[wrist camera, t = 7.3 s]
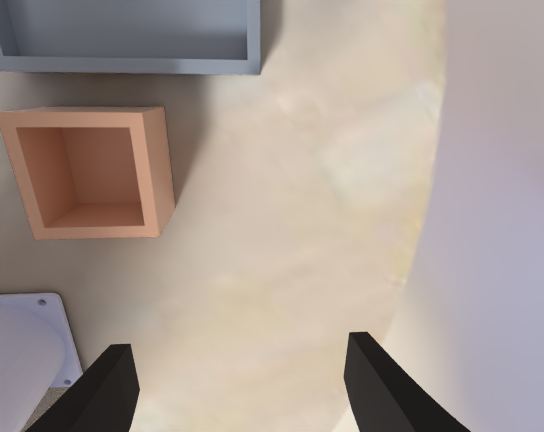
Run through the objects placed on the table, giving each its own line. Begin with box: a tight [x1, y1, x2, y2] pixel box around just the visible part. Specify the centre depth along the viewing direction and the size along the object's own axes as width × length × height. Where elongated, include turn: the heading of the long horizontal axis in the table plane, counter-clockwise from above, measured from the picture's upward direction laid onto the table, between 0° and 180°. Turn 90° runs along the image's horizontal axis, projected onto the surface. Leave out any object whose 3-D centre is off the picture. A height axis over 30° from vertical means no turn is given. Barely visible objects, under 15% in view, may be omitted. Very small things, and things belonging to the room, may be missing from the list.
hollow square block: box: [0, 106, 176, 240], centre depth 16 cm, size 6×6×4 cm
